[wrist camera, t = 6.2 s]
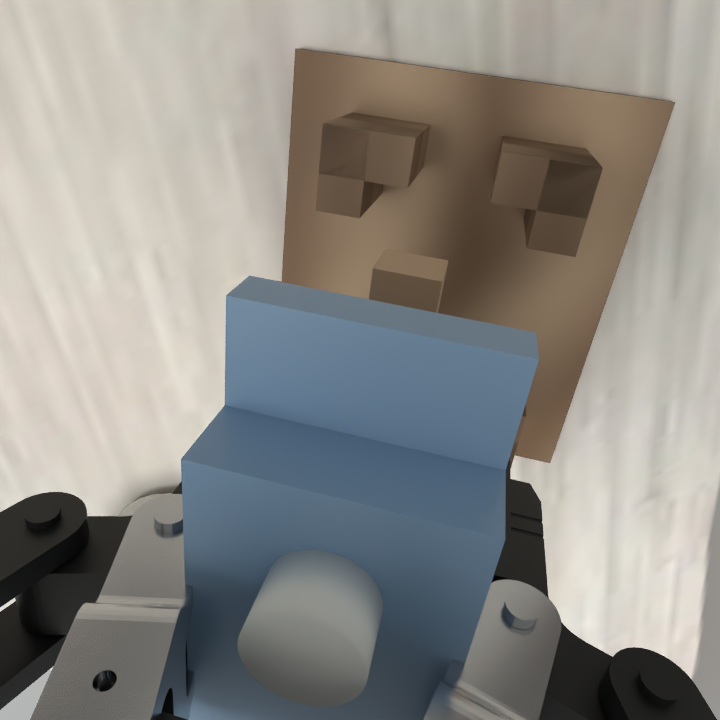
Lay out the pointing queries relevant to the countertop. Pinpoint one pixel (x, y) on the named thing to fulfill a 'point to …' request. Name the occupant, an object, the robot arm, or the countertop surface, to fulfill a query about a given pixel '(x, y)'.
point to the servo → (348, 497)
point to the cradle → (471, 199)
